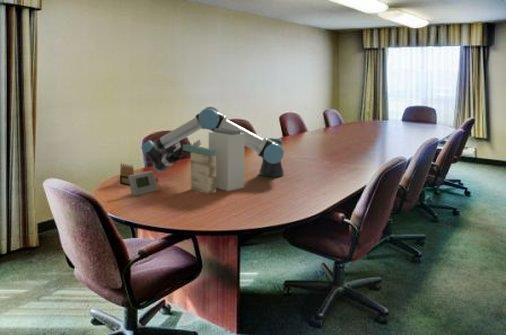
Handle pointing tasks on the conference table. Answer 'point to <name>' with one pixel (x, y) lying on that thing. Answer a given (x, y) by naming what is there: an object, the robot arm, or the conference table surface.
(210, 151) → the rail
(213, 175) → the beige stone block
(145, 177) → the digital clock
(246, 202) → the conference table surface
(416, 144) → the conference table surface
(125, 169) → the ammunition clip
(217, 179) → the grey stand
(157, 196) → the conference table surface
